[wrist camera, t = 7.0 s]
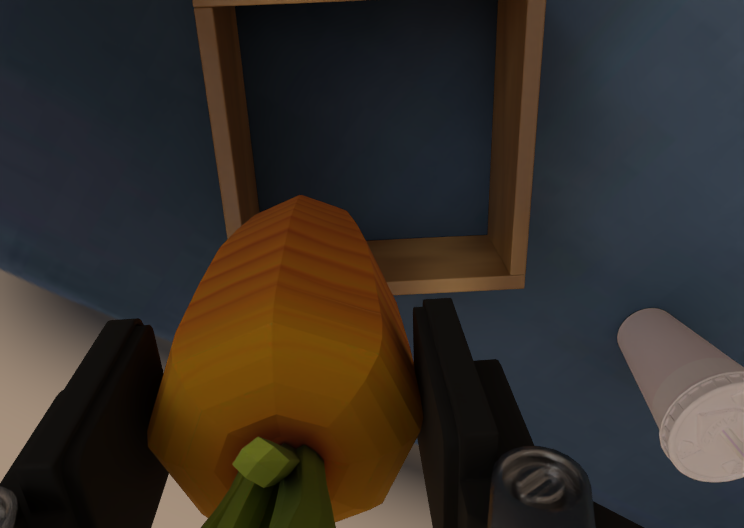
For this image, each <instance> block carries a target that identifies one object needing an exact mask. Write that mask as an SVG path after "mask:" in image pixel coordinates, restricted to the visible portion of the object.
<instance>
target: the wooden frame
mask: <svg viewBox="0 0 744 528" xmlns="http://www.w3.org/2000/svg"><path fill="white" fill-rule="evenodd" d="M340 1H364V0H192V2H193V7H195V8H194V14H195V21H196V28H197V35H198V42H199V48H200V55H201V62H202V69H203V76H204V82H205V89H206V96H207V103H208V110H209V116H210V123H211V130H212V137H213V143H214V150H215V157H216V164H217V171H218V177H219V184H220V191H221V198H222V205H223V211H224V218H225V225H226V232H227V238H228V239H229V238H230V237H231V235H232V234H233V233H234V232H235V231H236V230H237V229H238V228H240V227H241V226H242V225H243V224H244V223H246V222H247V221H248V220H249V219H250V218H252V217H253V216H254V215H256V214H258V213H260V211H259V203H258V194H257V186H256V178H255V170H254V161H253V153H252V145H251V137H250V128H249V120H248V112H247V104H246V95H245V87H244V79H243V71H242V62H241V54H240V46H239V38H238V29H237V21H236V13H235V6H244V5H268V4H292V3H316V2H340ZM545 9H546V0H498V14H497V36H496V58H495V80H494V102H493V124H492V146H491V168H490V190H489V212H488V235H475V236H454V237H434V238H413V239H393V240H373V241H366V242H367V244H368V246H369V248H370V250H371V252H372V254H373V256H374V258H375V260H376V262H377V264H378V266H379V268H380V270H381V272H382V274H383V276H384V279H385V281H386V283H387V285H388V287H389V289H390V291H391V293H392V295H407V294H427V293H446V292H466V291H486V290H505V289H523V288H524V285H525V273H526V260H527V247H528V234H529V220H530V207H531V194H532V181H533V168H534V154H535V141H536V128H537V115H538V102H539V89H540V75H541V62H542V49H543V36H544V23H545Z"/></svg>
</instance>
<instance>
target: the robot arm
mask: <svg viewBox="0 0 744 528" xmlns="http://www.w3.org/2000/svg"><path fill="white" fill-rule="evenodd" d="M413 342H414V369H415V374H416V379H417V383H418V388H419V392H420V397H421V404H422V411H423V422H422V426H421V430H420V433H419V434H418V436H417V439H418V445H419V450H420V456H421V461H422V467H423V473H424V479H425V485H426V491H427V496H428V502H429V508H430V514H431V519H432V525H433V528H644V527H642V526H640V525H638V524H636V523H634V522H632V521H630V520H628V519H626V518H624V517H622V516H621V515H619V514H617V513H615V512H613V511H611V510H609V509H607V508H605V507H603V506H601V505H599V504H597V503H595V502H593V499H592V489H591V484H590V481H589V478H588V475H587V474H586V472H585V471H584V470H583V468H582V467H581V466H580V464H578V463H577V462H576V461H574V460H573V459H572V458H570V457H569V456H568V455H565V454H563V453H561V452H559V451H557V450H554V449H550V448H546V447H541V446H534V444H533V441H532V439H531V436H530V434H529V432H528V429H527V427H526V424H525V422H524V420H523V417H522V415H521V412H520V410H519V408H518V405H517V403H516V400H515V398H514V396H513V393H512V391H511V388H510V386H509V383H508V381H507V379H506V376H505V374H504V371H503V369H502V367H501V364H500V363H499V361H498V360H496V359H493V360H478V361H473V359H472V356H471V353H470V350H469V347H468V344H467V341H466V339H465V336H464V333H463V330H462V327H461V324H460V321H459V318H458V316H457V313H456V310H455V307H454V304H453V301H452V299H451V298H441V299H426V300H423V307H414V308H413ZM162 377H163V369H162V365H161V361H160V356H159V353H158V348H157V344H156V340H155V335H154V331H153V328H152V327H151V326H150V325H143V323H142V321H141V320H140V319H139V318H138V319H123V320H110V321H108V322H107V323H106V325H105V326H104V328H103V329H102V331H101V333H100V334H99V336H98V337H97V339H96V340H95V342H94V343H93V345H92V347H91V348H90V350H89V351H88V353H87V354H86V356H85V357H84V359H83V361H82V362H81V364H80V365H79V367H78V369H77V370H76V371H75V373H74V375H73V376H72V378H71V379H70V381H69V382H68V384H67V386H66V387H65V389H64V390H63V391H61V392H60V393H59V394H58V395H57V397H56V398H55V399H54V401H53V403H52V404H51V406H50V407H49V409H48V410H47V412H46V413H45V415H44V417H43V418H42V420H41V421H40V423H39V424H38V426H37V427H36V429H35V430H34V432H33V433H32V435H31V437H30V438H29V440H28V441H27V443H26V444H25V446H24V448H23V449H22V451H21V452H20V454H19V455H18V457H17V458H16V460H15V461H14V463H13V465H12V466H11V468H10V469H9V471H8V472H7V474H6V475H5V477H4V478H3V480H2V481H1V483H0V528H151V526H152V523H153V520H154V517H155V514H156V511H157V508H158V505H159V502H160V499H161V496H162V493H163V490H164V487H165V484H166V481H167V477H168V475H169V472H168V471H167V470H166V469H165V467H164V466H163V465H162V464H161V462H160V461H159V460H158V459H157V457H156V456H155V455H154V454H153V452H152V451H151V450H150V449H149V447H148V439H147V430H148V426H149V422H150V418H151V415H152V411H153V408H154V404H155V401H156V398H157V394H158V391H159V387H160V384H161V381H162Z"/></svg>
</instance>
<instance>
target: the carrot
mask: <svg viewBox="0 0 744 528" xmlns="http://www.w3.org/2000/svg"><path fill="white" fill-rule="evenodd" d="M422 422H423V411H422V404H421V397H420V392H419V388H418V383H417V379H416V374H415V369H414V362H413V358H412V354H411V350H410V346H409V343H408V339H407V336H406V333H405V330H404V326H403V323H402V320H401V316H400V313H399V310H398V306H397V303H396V301H395V299H394V297H393V295H392V293H391V291H390V289H389V287H388V285H387V283H386V281H385V279H384V276H383V274H382V272H381V270H380V268H379V266H378V264H377V262H376V260H375V258H374V256H373V254H372V252H371V250H370V248H369V246H368V244H367V242H366V240H365V238H364V236H363V235H362V233H361V231H360V229H359V227H358V226H357V224H356V222H355V221H354V220H353V218H352V217H351V216H350V214H349V213H348V212H347V211H346V210H343V209H340V208H338V207H335V206H332V205H330V204H327V203H324V202H321V201H318V200H315V199H312V198H309V197H306V196H303V195H298V196H296V197H294V198H292V199H289V200H287V201H285V202H283V203H280V204H278V205H276V206H274V207H271V208H269V209H267V210H265V211H262V212H260V213H258V214H256V215H254V216H253V217H252V218H250V219H249V220H248V221H247V222H246V223H244V224H243V225H242V226H241V227H240V228H238V229H237V230H236V231H235V232H234V233H233V234H232V235H231V237H230V238H229V239H228V240H227V241H226V242H225V243H224V244H223V245H222V246H221V247H220V248H219V250H218V252H217V253H216V255H215V257H214V259H213V260H212V262H211V264H210V266H209V268H208V269H207V271H206V273H205V275H204V276H203V278H202V280H201V282H200V284H199V286H198V288H197V290H196V292H195V294H194V296H193V298H192V300H191V302H190V304H189V306H188V308H187V310H186V312H185V314H184V316H183V318H182V320H181V322H180V325H179V327H178V329H177V331H176V333H175V336H174V340H173V343H172V347H171V350H170V353H169V357H168V360H167V364H166V367H165V371H164V374H163V377H162V381H161V384H160V387H159V391H158V394H157V398H156V401H155V404H154V408H153V411H152V415H151V418H150V422H149V426H148V430H147V439H148V447H149V449H150V450H151V451H152V452H153V454H154V455H155V456H156V457H157V459H158V460H159V461H160V462H161V464H162V465H163V466H164V467H165V469H166V470H167V471H168V472H169V474H170V475H171V476H172V477H173V478H174V480H175V481H176V482H177V483H178V484H179V486H180V487H181V488H182V490H183V491H184V492H185V493H186V495H187V496H188V497H189V498H190V500H191V501H192V502H193V503H194V505H195V506H196V507H197V508H198V510H199V511H200V512H201V513H202V514H203V515H204V516H206V517H207V518H208V519H207V521H206V522H205V523H204V524H203V526H202V527H201V528H336V527H335V522H338V521H340V520H343V519H345V518H348V517H351V516H354V515H356V514H359V513H362V512H365V511H367V510H370V509H372V508H374V507H376V506H378V505H380V504H382V503H383V501H384V499H385V497H386V495H387V494H388V492H389V490H390V487H391V486H392V484H393V482H394V480H395V478H396V476H397V474H398V473H399V471H400V469H401V467H402V465H403V463H404V461H405V459H406V457H407V455H408V453H409V451H410V450H411V448H412V446H413V444H414V442H415V440H416V438H417V436H418V434H419V433H420V430H421V426H422Z"/></svg>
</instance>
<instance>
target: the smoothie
mask: <svg viewBox="0 0 744 528" xmlns="http://www.w3.org/2000/svg"><path fill="white" fill-rule="evenodd" d="M617 341H618V345H619V347H620V349H621V351H622V353H623V355H624V357H625V359H626V362H627V364H628V366H629V368H630V370H631V372H632V374H633V376H634V378H635V380H636V382H637V384H638V386H639V388H640V390H641V392H642V394H643V396H644V399H645V401H646V403H647V405H648V407H649V409H650V411H651V413H652V415H653V417H654V420H655V422H656V424H657V426H658V428H659V430H660V432H659V437H660V443H661V447H662V449H663V451H664V452H665V454H666V456H667V457H668V458H669V459H670V460H671V461H672V463H673V464H674V466H675V467H676V468H677V469H678V470H679V471H680V472H681V473H683V474H684V475H686V476H688V477H690V478H693V479H695V480H699V481H704V482H725V481H731V480H735V479H739V478H742V477H744V367H742V366H741V365H740V364H738V363H736V362H735V361H734V360H732V359H731V358H730V357H728V356H727V355H725V354H724V353H723V352H721V351H720V350H719V349H717V348H716V347H714V346H713V345H712V344H710V343H709V342H707V341H706V340H705V339H703V338H702V337H701V336H699V335H698V334H696V333H695V332H694V331H692V330H691V329H689V328H688V327H687V326H685V325H684V324H683V323H681V322H680V321H678V320H677V319H676V318H674V317H673V316H671V315H670V314H669V313H667V312H666V311H664V310H661V309H657V308H647V309H643V310H640V311H637V312H635V313H633V314H632V315H630V316H629V317H628V318H627V319H626V320H625V321H624V322H623V323H622V325H621V326H620V328H619V331H618V335H617Z"/></svg>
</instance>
